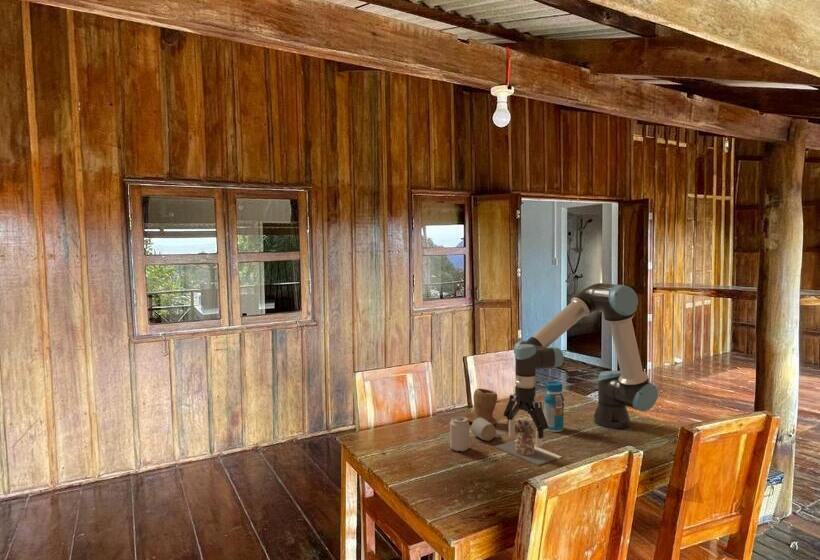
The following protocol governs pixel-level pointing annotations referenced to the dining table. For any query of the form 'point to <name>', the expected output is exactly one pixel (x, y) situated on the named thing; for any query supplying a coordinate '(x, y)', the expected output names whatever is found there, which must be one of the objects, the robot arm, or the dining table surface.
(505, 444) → the mat
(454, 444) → the can
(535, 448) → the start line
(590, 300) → the robot arm
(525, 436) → the figurine
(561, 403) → the beverage bottle
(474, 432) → the ceramic mug
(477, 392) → the brown boot planter
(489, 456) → the dining table surface
